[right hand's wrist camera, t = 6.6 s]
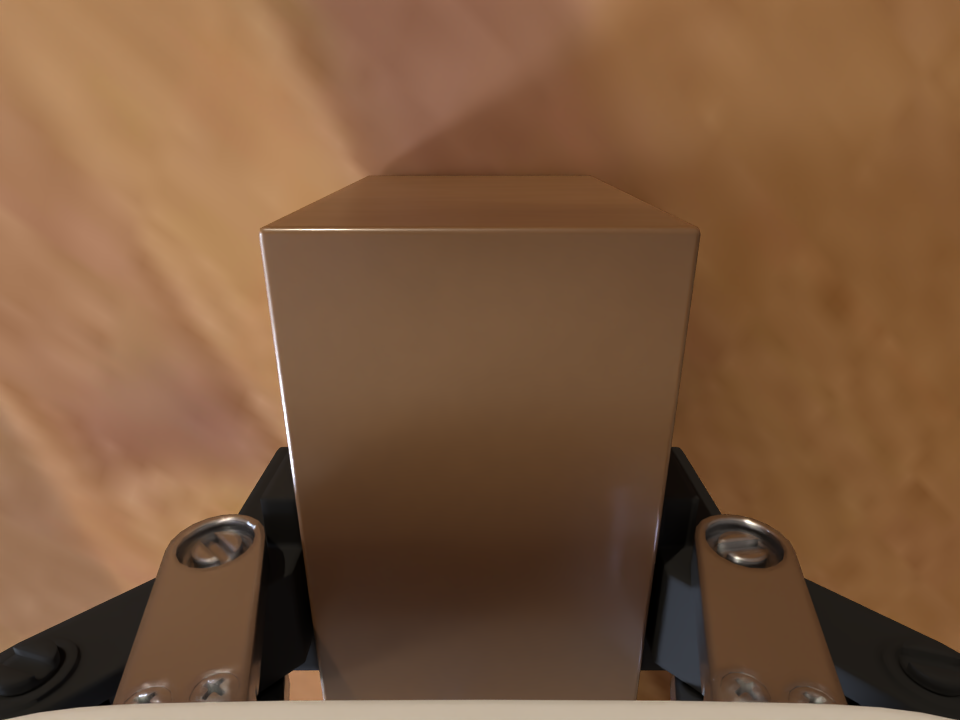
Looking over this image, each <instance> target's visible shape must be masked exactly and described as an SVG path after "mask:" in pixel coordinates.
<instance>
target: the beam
mask: <svg viewBox="0 0 960 720" xmlns="http://www.w3.org/2000/svg"><path fill="white" fill-rule="evenodd" d="M259 240H260V247H261V254H262V261H263V268H264V276H265V283H266V290H267V297H268V305H269V312H270V319H271V326H272V333H273V341H274V348H275V355H276V362H277V369H278V377H279V384H280V391H281V398H282V405H283V413H284V420H285V427H286V434H287V441H288V449H289V456H290V463H291V470H292V477H293V485H294V492H295V499H296V506H297V513H298V521H299V528H300V535H301V542H302V549H303V557H304V564H305V571H306V578H307V586H308V593H309V600H310V607H311V614H312V622H313V629H314V636H315V643H316V650H317V658H318V665H319V672H320V679H321V686H322V694H323V701H335V700H626V701H636V699H637V691H638V684H639V677H640V670H641V662H642V655H643V648H644V641H645V633H646V626H647V619H648V612H649V604H650V597H651V590H652V582H653V575H654V568H655V561H656V553H657V546H658V539H659V532H660V524H661V517H662V510H663V503H664V495H665V488H666V481H667V473H668V466H669V459H670V452H671V444H672V437H673V430H674V423H675V415H676V408H677V401H678V394H679V386H680V379H681V372H682V364H683V357H684V350H685V343H686V335H687V328H688V321H689V314H690V306H691V299H692V292H693V285H694V277H695V270H696V263H697V255H698V248H699V241H700V230H699V228H698V227H696V226H694V225H691V224H689V223H687V222H685V221H683V220H681V219H679V218H677V217H675V216H673V215H671V214H669V213H667V212H665V211H663V210H660V209H658V208H656V207H654V206H652V205H650V204H648V203H646V202H644V201H642V200H640V199H638V198H636V197H634V196H632V195H630V194H627V193H625V192H623V191H621V190H619V189H617V188H615V187H613V186H611V185H609V184H607V183H605V182H603V181H601V180H599V179H596V178H594V177H592V176H367V177H365V178H363V179H361V180H359V181H357V182H355V183H353V184H351V185H348V186H346V187H344V188H342V189H340V190H338V191H336V192H334V193H332V194H330V195H328V196H326V197H324V198H322V199H320V200H318V201H316V202H313V203H311V204H309V205H307V206H305V207H303V208H301V209H299V210H297V211H295V212H293V213H291V214H289V215H287V216H285V217H283V218H280V219H278V220H276V221H274V222H272V223H270V224H268V225H266V226H264V227H262V228H260V231H259Z"/></svg>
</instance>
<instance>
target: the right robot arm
mask: <svg viewBox="0 0 960 720" xmlns="http://www.w3.org/2000/svg"><path fill="white" fill-rule="evenodd" d="M293 670H319V665H318V658H317V650H316V643H315V636H314V629H313V622H312V614H311V607H310V600H309V593H308V586H307V578H306V571H305V564H304V557H303V549H302V542H301V535H300V528H299V521H298V513H297V506H296V499H295V492H294V485H293V477H292V470H291V463H290V456H289V449H288V447H281V448H279V449H278V451H277V452H276V453H275V455H274V457H273V458H272V460H271V461H270V463H269V465H268V466H267V468H266V470H265V471H264V473H263V475H262V476H261V478H260V479H259V481H258V483H257V484H256V486H255V488H254V489H253V491H252V492H251V494H250V496H249V497H248V499H247V501H246V502H245V504H244V506H243V507H242V509H241V510H240V512H239V514H231V515H220V516H216V517H212V518H208V519H205V520H203V521H200V522H198V523H195V524H193V525H191V526H190V527H188V528H186V529H185V530H183V531H181V532H180V533H179V534H178V535H177V536H176V537H175V538H174V539H173V540H172V541H171V542H170V543H169V545H168V547H167V549H166V550H165V553H164V556H163V559H162V562H161V565H160V568H159V570H158V573H157V576H156V578H154V579H152V580H150V581H148V582H146V583H144V584H142V585H140V586H138V587H135V588H133V589H131V590H129V591H127V592H125V593H123V594H121V595H119V596H116V597H114V598H112V599H110V600H108V601H106V602H104V603H102V604H100V605H98V606H95V607H93V608H91V609H89V610H87V611H85V612H83V613H81V614H79V615H76V616H74V617H72V618H70V619H68V620H66V621H64V622H62V623H60V624H58V625H55V626H53V627H51V628H49V629H47V630H45V631H43V632H41V633H39V634H36V635H34V636H32V637H30V638H28V639H26V640H24V641H22V642H20V643H18V644H16V645H14V646H12V647H11V648H9V649H7V650H5V651H3V652H2V653H0V720H960V653H958V652H956V651H954V650H953V649H951V648H949V647H947V646H946V645H944V644H942V643H940V642H938V641H936V640H934V639H932V638H929V637H927V636H925V635H923V634H921V633H919V632H917V631H915V630H913V629H911V628H908V627H906V626H904V625H902V624H900V623H898V622H896V621H894V620H892V619H889V618H887V617H885V616H883V615H881V614H879V613H877V612H875V611H873V610H871V609H868V608H866V607H864V606H862V605H860V604H858V603H856V602H854V601H852V600H849V599H847V598H845V597H843V596H841V595H839V594H837V593H835V592H833V591H830V590H828V589H826V588H824V587H822V586H820V585H818V584H816V583H814V582H812V581H809V580H807V579H805V578H804V576H803V573H802V570H801V568H800V565H799V562H798V559H797V556H796V553H795V550H794V549H793V547H792V545H791V543H790V542H789V541H788V540H787V539H786V538H785V537H784V536H783V535H782V534H781V533H780V532H779V531H777V530H775V529H774V528H772V527H770V526H769V525H767V524H765V523H762V522H760V521H757V520H755V519H752V518H748V517H744V516H740V515H729V514H721V513H720V511H719V510H718V508H717V506H716V505H715V503H714V501H713V500H712V498H711V497H710V495H709V493H708V492H707V490H706V488H705V487H704V485H703V483H702V482H701V480H700V479H699V477H698V475H697V474H696V472H695V470H694V469H693V467H692V466H691V464H690V462H689V461H688V459H687V457H686V456H685V454H684V453H683V451H682V450H681V449H680V448H679V447H671V452H670V459H669V466H668V473H667V481H666V488H665V495H664V503H663V510H662V517H661V524H660V532H659V539H658V546H657V553H656V561H655V568H654V575H653V582H652V590H651V597H650V604H649V612H648V619H647V626H646V633H645V641H644V648H643V655H642V662H641V670H667V671H668V672H670V673H671V674H672V675H671V681H670V695H671V701H626V700H335V701H289V695H290V681H289V675H288V673H290V672H291V671H293Z"/></svg>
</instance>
